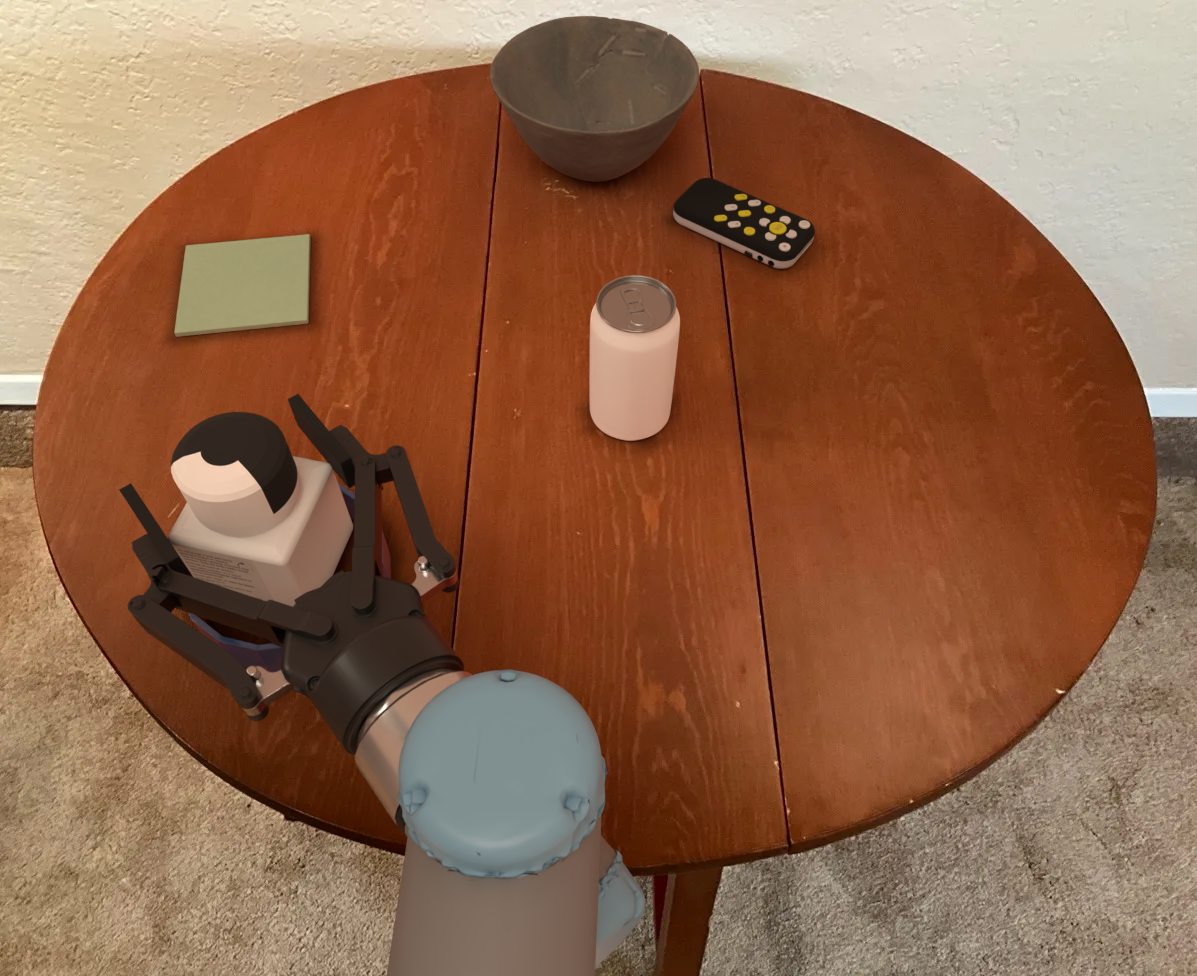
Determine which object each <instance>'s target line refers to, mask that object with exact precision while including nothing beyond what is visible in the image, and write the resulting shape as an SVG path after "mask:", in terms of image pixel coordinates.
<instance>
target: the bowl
mask: <svg viewBox="0 0 1197 976" xmlns="http://www.w3.org/2000/svg"><path fill="white" fill-rule="evenodd" d="M489 77H490V78H489V79H490V83H491V87H492V89H493V91H494V93H495V95H496V97H497V99H498V101H499V102H500V104H501V106H502V107H503V109H504V110H505V113H506V114H507V116H508V117H509V119H510V121H511V122H512V124H513V126H514V127H515V129H516V131H517V132H518V134H519V136H521V138H522V139H523V141H524V142H525V144H526V145H527V147H528V148H529V149H530V150H531V151H532V152H533V153H534V154H535V155H536V157H538V158H539V159H540V160H541V161H543V162H544V164H546V165H547V166H549V167H551V168H552V169H553V170H556V171H557V172H558V173H561V174H563V175H565V176H568V177H570V178H574V179H577V180H579V181H584V182H592V183H593V182H594V183H595V182H606V181H611V180H613V179H617V178H620V177H622V176H624V175H626V174H628V173H630V172H632V171H633V170H635V169H636V168H638V167H640V166H641V165H642V164H644V163H645V162H646V161H647V160H648V159H649V158H651V157H652V156H653V155H654V154H655V153H656V152H657V150H659V148H660V147H661V146H662V145H663V144H664V142H665V141H666V140H667V138H668V137H669V136H670V134H671V133H672V131H673V130H674V128H675V126H676V125H677V123H678V122H679V120H680V118H681V116H682V114H683V113H684V111H685V109H686V108H687V106H688V104H689V103H690V101H691V99H692V98H693V96H694V94H695V92H696V90H697V88H698V83H699V78H700V68H699V63H698V61H697V59H696V57H695V56H694V54H693V52H692V51H691V49H690V48H689V46H687V45H686V44H685V43H684V42H683V41H682V40H680V39H679V38H677V36H675V35H673V34H671V33H668V31H665V30H663V29H660V28H658V27H656V26H653V25H649V24H647V23H643V22H639V21H635V20H627V19H621V18H617V17H616V18H615V17H611V18H609V17H607V16H597V15H576V16H575V15H574V16H564V17H563V16H562V17H558V18H554V19H550V20H546V21H544V22H541V23H537V24H534V25H533V26H530V27H528V28H527V29H524V30H522V31H521V32H519V33H518V34H516V35H514V36H513V37H512V38H510V39H509V40H508V41H507V42H506V43H505V44H504V45H503V46H502V47H501V48H500V49H499V50H498V52H497V53H496V54H495V56H494V58H493V60H492V62H491V65H490V72H489Z"/></svg>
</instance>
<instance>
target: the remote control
mask: <svg viewBox="0 0 1197 976" xmlns="http://www.w3.org/2000/svg"><path fill="white" fill-rule="evenodd" d="M672 208H673V209H672V215H673V219H674V221H675V222H676V223H677V224H679V225H680V226H683V227H685V228H687V229H689V230H692V231H694V232H695V233H698V234H699V235H702V236H704V237H706V238H708V239H711V240H713V241H714V242H717V243H719V244H721V245H724V246H726V247H728V248H730V249H733V250H735V251H737V252H739V253H741V254H744V255H745V256H747V257H750V258H752V259H754V260H756V261H758V262H761V263H763V264H765V265H767V266H769V267H771V268H773V269H779V270H782V269H783V270H785V269H788V268H790V267H792V266H793V265H795V263H796V262H797V261H798V260H799V259H800V257H801V256H803V254H804V253H805V252H806V251H807V249H808V248H809V247H810V246H811V245H812V243H813V241H814V238H815V234H816V229H815V226H814V224H813V223H812V221H810V220H809V219H806V218H805V217H802V216H800V215H798V214H795V213H793V212H791V211H789V210H786V209H784V208H782V207H780V206H777V205H776V204H772V203H771V202H768V201H765V200H763V199H762V198H760V197H756V196H754V195H752V194H750V193H747V192H745V191H743V190H740V189H739V188H737V187H733V186H731V185H729V184H727V183H725V182H722V181H720V180H718V179H715V178H712V177H701V178H699V179H697V180H696V181H694V182H693V183H692V184H691V185H690V186H689V187H688V188H687V189H686V190H685V191H684V192H683V193H682V194H681V195H680V196H679V197H678V198H677V199H676V200H675V202H674V204H673V207H672Z"/></svg>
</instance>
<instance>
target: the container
mask: <svg viewBox="0 0 1197 976" xmlns="http://www.w3.org/2000/svg"><path fill="white" fill-rule="evenodd" d="M170 472H171V476H172V480H173V481H174V483H175V484H176V486H177V488H178V490H179V491H180V493H181V495H182V496H183V498H184V499H185V501H186V503H185V505H184V506H183V508H182V509H181V512H180V514H179V515H178V517H177V519H176V520H175V522H174V524H173V526H172V528H171V530H170V531H169V533H168V535H167V538H168V540H169V541H170V543H171V544H172V546H173V547H174V549H175V550H176V552H177V553H178V555H179V556H180V558H181V559H182V561H183V562H184V564H185V565H186V567H187V568H188V570H189V571H190V573H191V574H192V576H193V577H194V578H197V579H200V580H203V581H206V582H209V583H212V584H215V585H218V586H221V587H224V588H227V589H230V590H233V591H236V592H239V593H242V594H245V595H248V596H251V597H254V598H257V599H260V600H263V601H268V600H274V601H277V602H280V603H283V604H286V605H289V606H292V607H293V606H294V605H295V604H296V603H295V601H294V600H295V599H296V598H298V597H299V596H301V595H303V594H304V593H306V592H309V591H311V590H314V589H317V588H320V587H321V586H322V585H323V584H324V583H325V582H326V581H327V580H328V579H329V578H330V577H332V576H333V575H335V574H334V573H335V571H336V569H337V567H338V564H339V562H340V560H341V558H342V556H343V553H344V551H345V549H346V547H347V544H348V542H349V540H350V537H351V535H352V532H353V531H354V523H353V522H352V518H350V515H349V513H348V510H347V507H346V504H345V501H344V499H343V496H342V493H341V490H340V487H339V485H338V483H339V482H338V479H337V476H336V472H335V471H334V470H333V468H332V466H331V465H330V464H329V463H328V462H327V461H321V460H315V459H311V458H306V457H300V456H295V455H293V453H292V452H291V449H290V447H289V445H288V442H287V439H286V436H285V435H284V433H283V431H282V429H281V428H280V426H278V425H277V424H276V423H275V422H274V421H273V420H271V419H269V418H268V417H265V415H264V416H263V415H261V414H257V413H253V412H248V411H229V412H223V413H219V414H215V415H213V416H210V417H207V418H205V419H204V420H202V421H199V422H198V423H196V424H195V425H194V426H193V427H191V428H190V429H189V430H187V432H185V434H184V435H183V436H182V437H181V439H180V440H179V441H178V443H177V445H176V446H175V448H174V451H173V453H172V456H171V460H170Z"/></svg>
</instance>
